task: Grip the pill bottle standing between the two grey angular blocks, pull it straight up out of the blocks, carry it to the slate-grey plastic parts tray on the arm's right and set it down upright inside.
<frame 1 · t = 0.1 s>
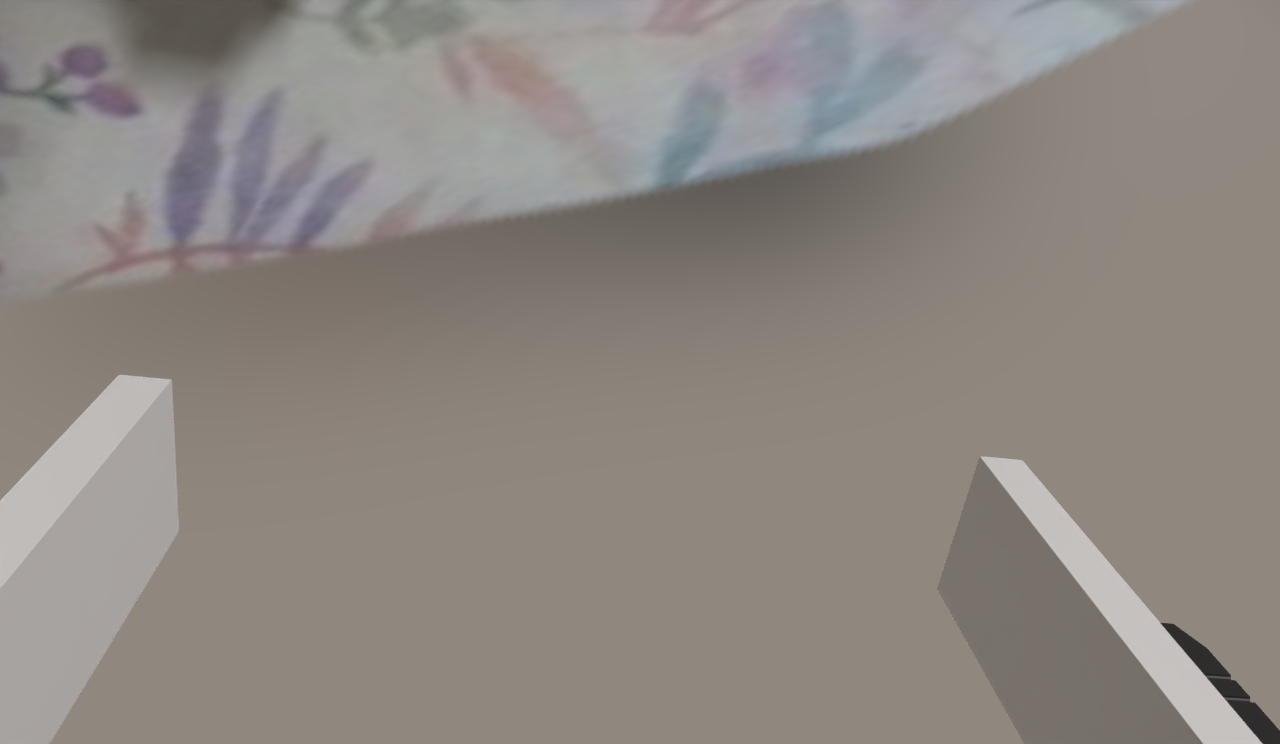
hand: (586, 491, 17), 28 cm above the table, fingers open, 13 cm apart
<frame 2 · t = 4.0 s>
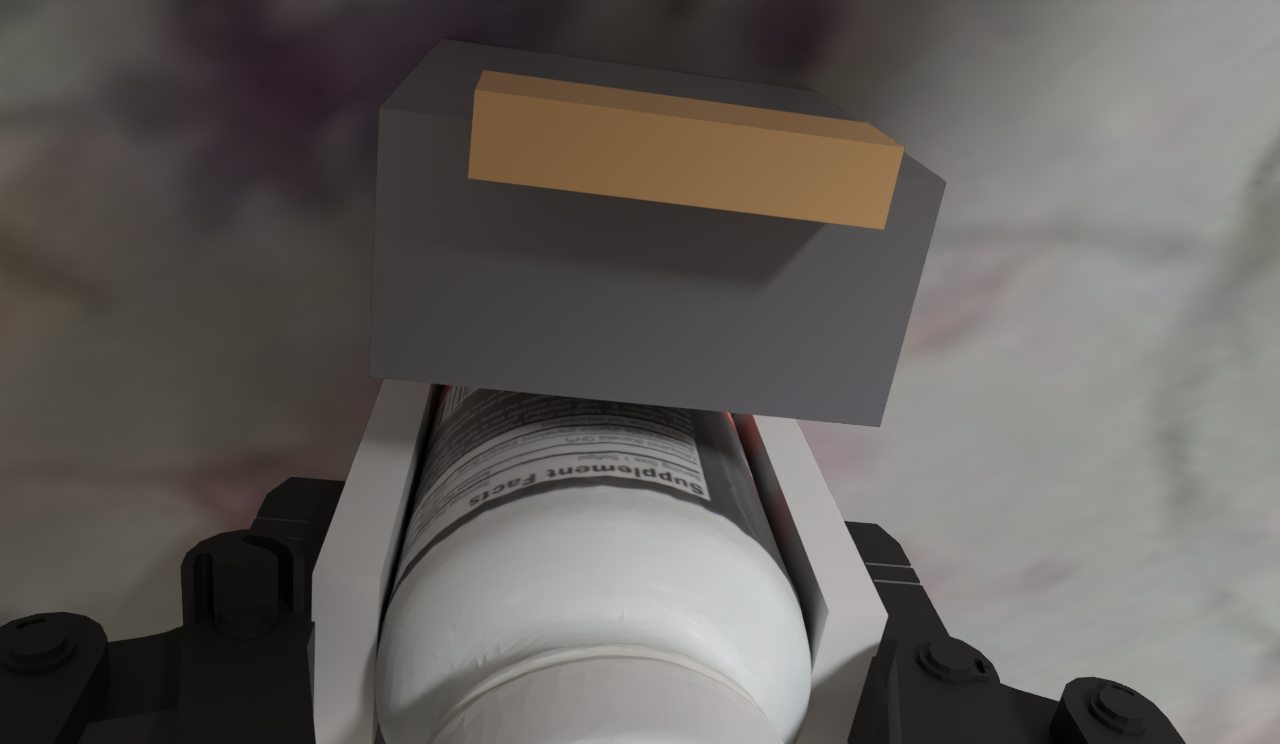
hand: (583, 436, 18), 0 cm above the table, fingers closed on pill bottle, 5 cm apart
grey angular blocks: (583, 427, 19), on the table
pill bottle: (583, 422, 19), on the table, touching gripper
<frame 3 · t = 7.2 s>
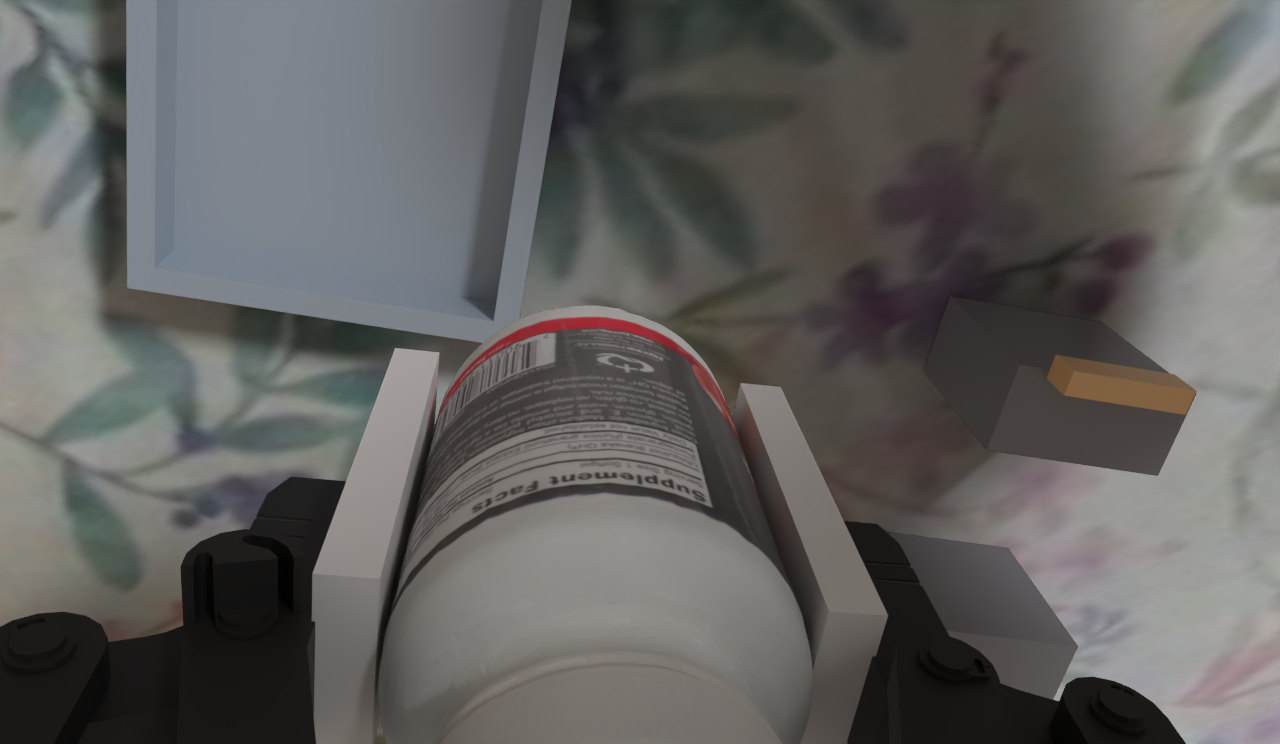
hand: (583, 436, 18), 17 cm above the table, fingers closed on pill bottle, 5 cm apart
grey angular blocks: (968, 463, 39), on the table
parts tray: (362, 50, 31), on the table
pill bottle: (584, 427, 19), point 16 cm above the table, touching gripper
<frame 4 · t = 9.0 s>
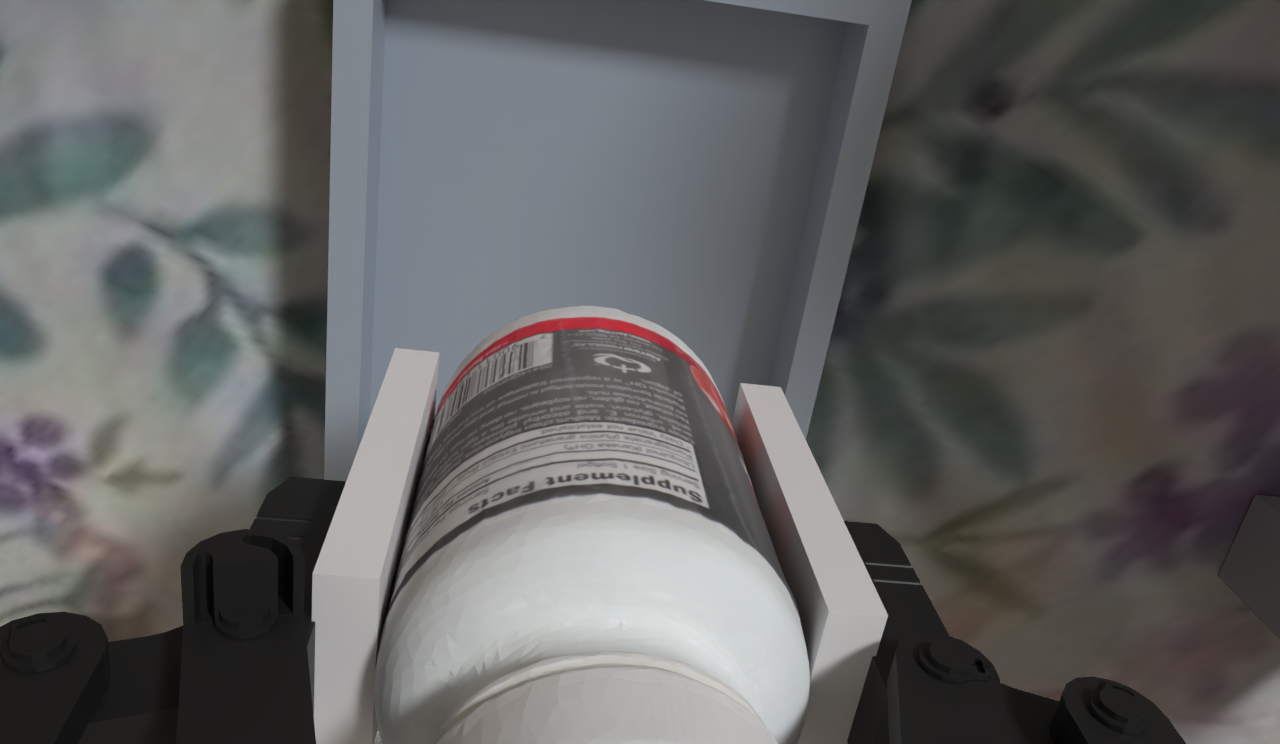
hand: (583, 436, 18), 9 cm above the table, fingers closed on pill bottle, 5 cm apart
grey angular blocks: (1260, 668, 34), on the table
parts tray: (585, 274, 26), on the table
pill bottle: (582, 427, 19), point 8 cm above the table, touching gripper
when the fingers open (2 cm above the table, at t = 10.7 s): pill bottle drops 1 cm, resting on parts tray.
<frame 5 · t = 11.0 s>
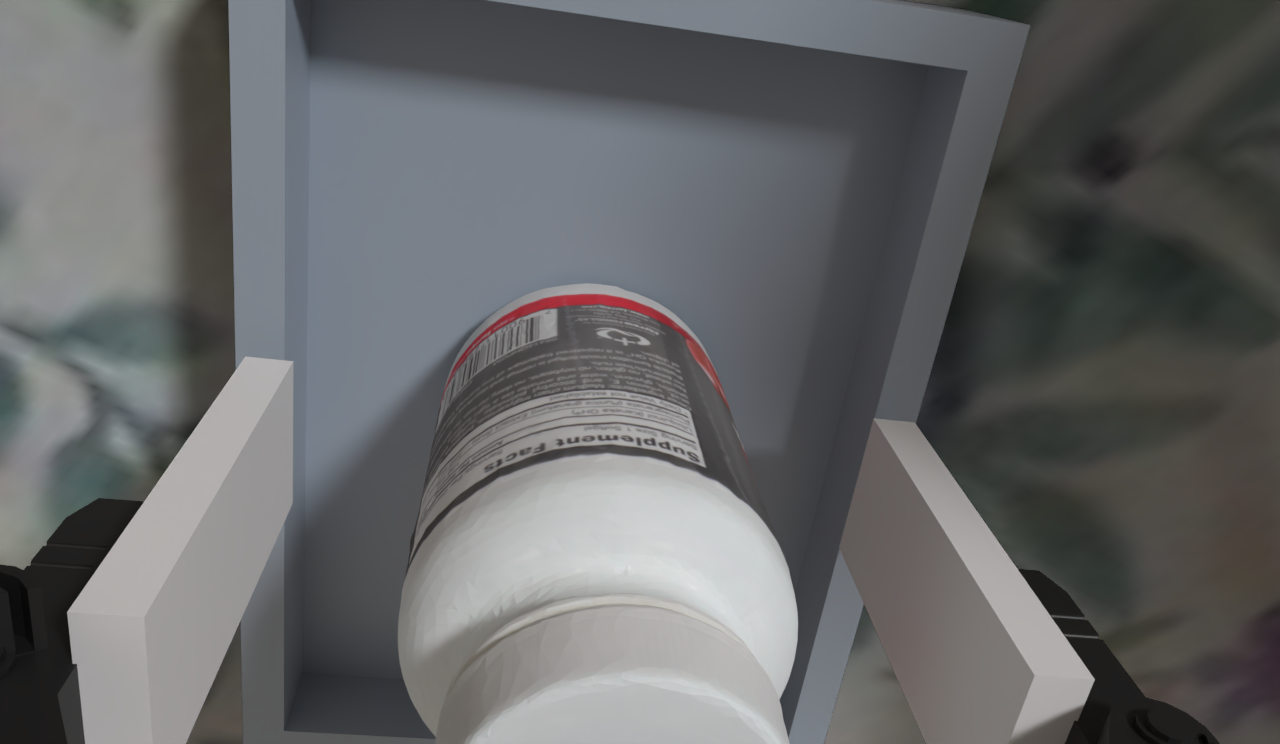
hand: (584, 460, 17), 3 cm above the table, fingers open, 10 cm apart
parts tray: (580, 382, 20), on the table
pill bottle: (583, 399, 20), point 1 cm above the table, touching parts tray
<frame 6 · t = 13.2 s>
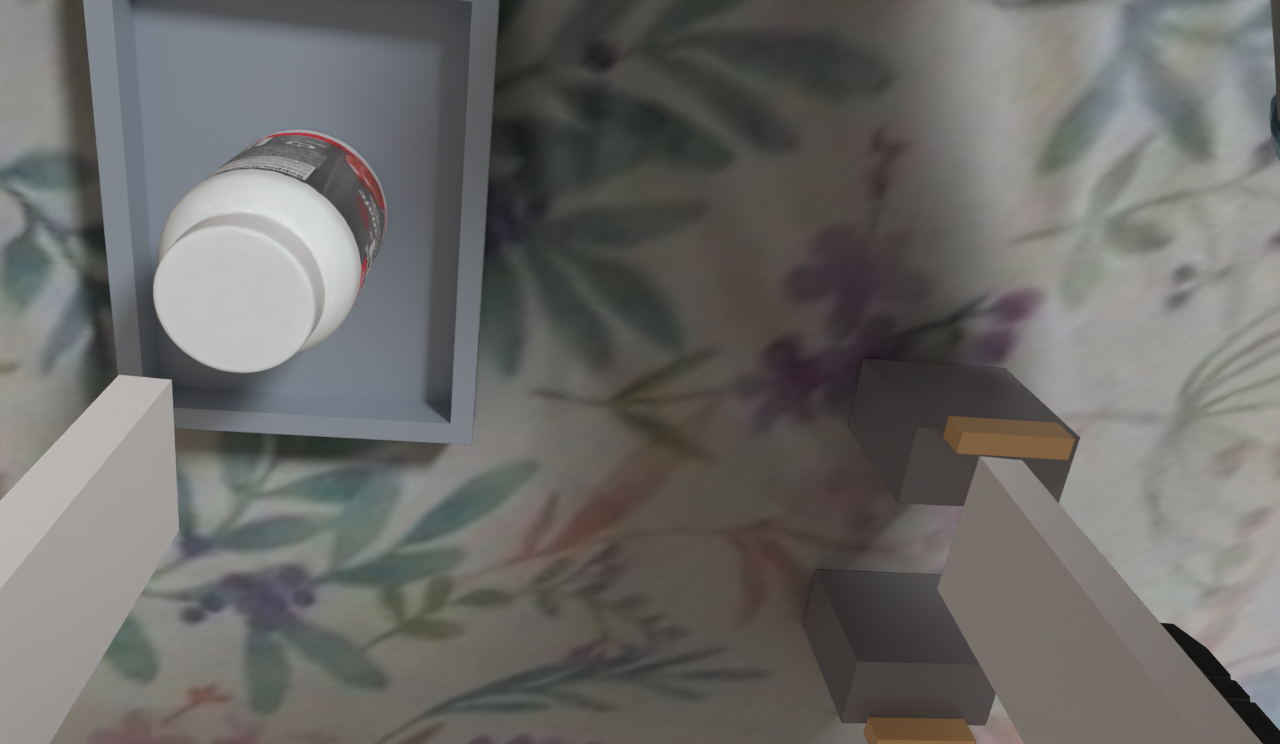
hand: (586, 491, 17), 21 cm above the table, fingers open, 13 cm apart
grey angular blocks: (899, 503, 43), on the table
parts tray: (312, 197, 35), on the table
pill bottle: (310, 204, 34), point 1 cm above the table, touching parts tray
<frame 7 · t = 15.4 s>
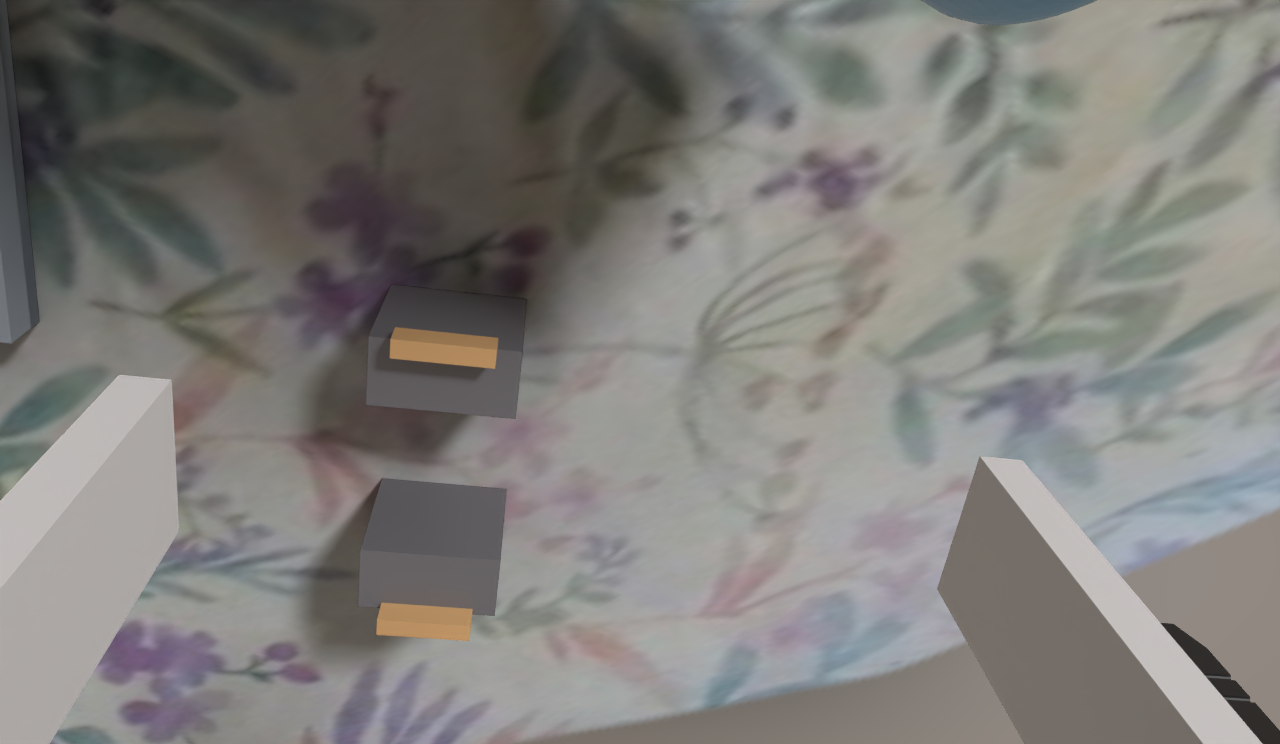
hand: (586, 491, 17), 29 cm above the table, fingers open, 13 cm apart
grey angular blocks: (449, 420, 48), on the table
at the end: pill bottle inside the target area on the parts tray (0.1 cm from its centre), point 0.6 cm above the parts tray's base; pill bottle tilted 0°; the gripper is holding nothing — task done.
